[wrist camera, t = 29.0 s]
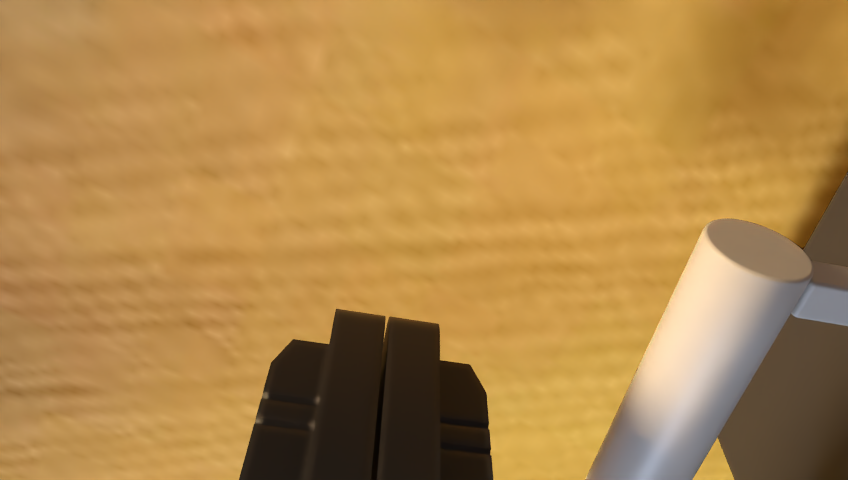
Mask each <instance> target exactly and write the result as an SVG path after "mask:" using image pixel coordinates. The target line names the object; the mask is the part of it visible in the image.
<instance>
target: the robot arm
mask: <svg viewBox="0 0 848 480" xmlns="http://www.w3.org/2000/svg"><path fill="white" fill-rule="evenodd" d="M384 330H385V316H381V315H374V314H367V313H360V312H354V311H347V310H340V309H336V312H335V317H334V322H333V328H332V333H331V339H330V344H322V343H315V342H308V341H301V340H295V339H293V340H292V341H291V342H290V343H289V344H288V345H287V346H286V347H285V349H284V350H283V351H282V352H281V353H280V354H279V355H278V356H277V357H276V358H275V359H274V360H273V361H272V362H271V365H270V369H269V373H268V376H267V380H266V383H265V387H264V391H263V396H262V399H261V402H260V405H259V409H258V413H257V416H256V422H255V424H254V427H253V431H252V434H251V438H250V442H249V445H248V449H247V452H246V456H245V460H244V463H243V467H242V471H241V474H240V478H239V480H493V471H492V458H491V455H490V450H491V446H490V433H489V430H488V425H489V420H488V408H487V395H486V392H485V390H484V388H483V386H482V385H481V383H480V381H479V379H478V378H477V376H476V374H475V372H474V371H473V369H472V367H471V366H470V365H469V364H462V363H455V362H448V361H441V360H440V329H439V324H436V323H429V322H422V321H416V320H409V319H402V318H395V317H389V319H388V323H387V328H386V333H385V338H384ZM383 341H384V343H383Z"/></svg>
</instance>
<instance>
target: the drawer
mask: <svg viewBox="0 0 848 480" xmlns="http://www.w3.org/2000/svg"><path fill="white" fill-rule="evenodd" d="M717 437H718V439H719V442H720V444H721V447H722V449H723V452H724V454H725V457H726V459H727V462H728V464H729V467H730V469H731V472H732V474H733V477H734V479H735V480H848V172H847V174H846V176H845V177H844V179H843V181H842V183H841V184H840V186H839V188H838V190H837V191H836V193H835V195H834V197H833V198H832V200H831V202H830V204H829V206H828V207H827V209H826V211H825V213H824V214H823V216H822V218H821V220H820V221H819V223H818V225H817V227H816V228H815V230H814V232H813V234H812V235H811V237H810V239H809V241H808V242H807V244H806V246H805V248H804V249H803V250H802V249H801V248H800V247H799V246H797V245H796V244H795V243H793V242H792V241H791V240H789V239H787V238H786V237H784V236H782V235H781V234H779V233H777V232H775V231H773V230H770V229H768V228H766V227H763V226H761V225H758V224H755V223H751V222H747V221H743V220H737V219H717V220H714V221H711V222H710V223H708V224H707V225H706V226H705V227H704V229H703V231H702V233H701V235H700V237H699V239H698V241H697V243H696V246H695V248H694V250H693V252H692V254H691V256H690V258H689V260H688V263H687V265H686V267H685V269H684V271H683V273H682V275H681V277H680V280H679V282H678V284H677V286H676V288H675V290H674V292H673V294H672V297H671V299H670V301H669V303H668V305H667V307H666V309H665V311H664V314H663V316H662V318H661V320H660V322H659V324H658V326H657V328H656V331H655V333H654V335H653V337H652V339H651V341H650V343H649V345H648V348H647V350H646V352H645V354H644V356H643V358H642V360H641V362H640V365H639V367H638V369H637V371H636V373H635V375H634V377H633V379H632V382H631V384H630V386H629V388H628V390H627V392H626V394H625V396H624V399H623V401H622V403H621V405H620V407H619V409H618V411H617V413H616V416H615V418H614V420H613V422H612V424H611V426H610V428H609V430H608V433H607V435H606V437H605V439H604V441H603V443H602V445H601V447H600V450H599V452H598V454H597V456H596V458H595V460H594V462H593V464H592V467H591V469H590V471H589V473H588V475H587V477H586V479H585V480H692V479H693V477H694V476H695V474H696V472H697V471H698V469H699V467H700V466H701V464H702V462H703V461H704V459H705V457H706V455H707V454H708V452H709V450H710V449H711V447H712V445H713V444H714V442H715V440H716V439H717Z"/></svg>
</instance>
